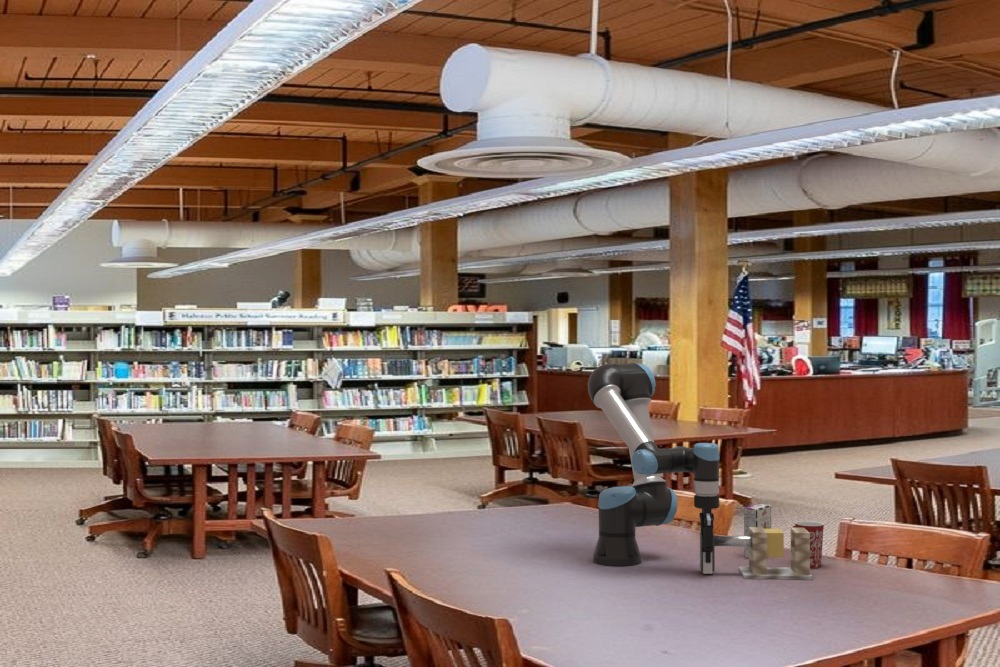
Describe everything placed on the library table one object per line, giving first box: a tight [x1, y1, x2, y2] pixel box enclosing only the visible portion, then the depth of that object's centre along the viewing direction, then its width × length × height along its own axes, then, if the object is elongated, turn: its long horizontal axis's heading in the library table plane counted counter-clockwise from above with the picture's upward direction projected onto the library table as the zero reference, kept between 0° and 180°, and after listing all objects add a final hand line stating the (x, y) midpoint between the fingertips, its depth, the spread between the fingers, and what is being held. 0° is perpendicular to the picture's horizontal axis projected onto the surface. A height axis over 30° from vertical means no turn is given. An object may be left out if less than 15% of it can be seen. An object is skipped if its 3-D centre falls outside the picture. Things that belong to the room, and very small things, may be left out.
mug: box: [791, 520, 825, 569], centre depth 373 cm, size 13×9×14 cm
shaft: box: [699, 532, 752, 573], centre depth 359 cm, size 24×4×11 cm, turn 85°
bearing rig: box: [738, 527, 813, 581], centre depth 358 cm, size 20×13×14 cm, turn 85°
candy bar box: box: [743, 503, 772, 559], centre depth 388 cm, size 11×5×16 cm, turn 143°
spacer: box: [764, 528, 785, 558], centre depth 358 cm, size 5×8×7 cm, turn 175°
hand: (706, 571), depth 360 cm, fingers closed on shaft, 4 cm apart
